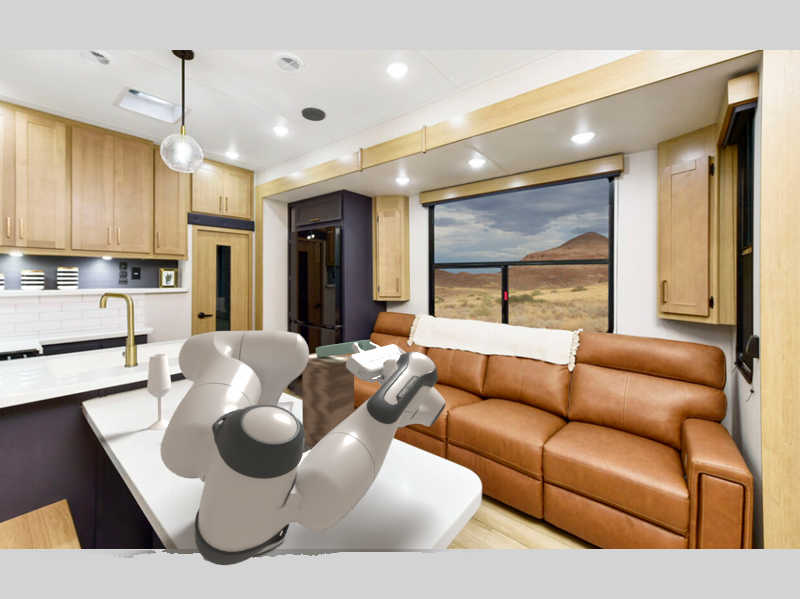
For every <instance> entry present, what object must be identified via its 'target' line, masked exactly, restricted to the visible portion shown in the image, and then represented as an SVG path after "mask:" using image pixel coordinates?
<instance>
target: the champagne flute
mask: <svg viewBox="0 0 800 599" xmlns="http://www.w3.org/2000/svg"><path fill="white" fill-rule="evenodd" d="M168 359H169V358H168V354H167V353H155V354H151V355H149V359H148V360H149V362H148V371H147V373H148V375H147V383H146V384H147V387H146V390H147V392H148V393H149V394H150V395H151V396H153V397H154V398H157V421H155V422H153V423H152V424H151V425H149V426H148V427H147V428H148V429H149V430H151V431H156V429H158V430H163V429H167V426H168V424H169V422H170V420H166V419H163V397H164V396H166V394H167V393H168V392H170V389H171V388H172V380H171V374H170V366H169V365H170V364H169V360H168ZM162 428H163V429H162Z"/></svg>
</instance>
